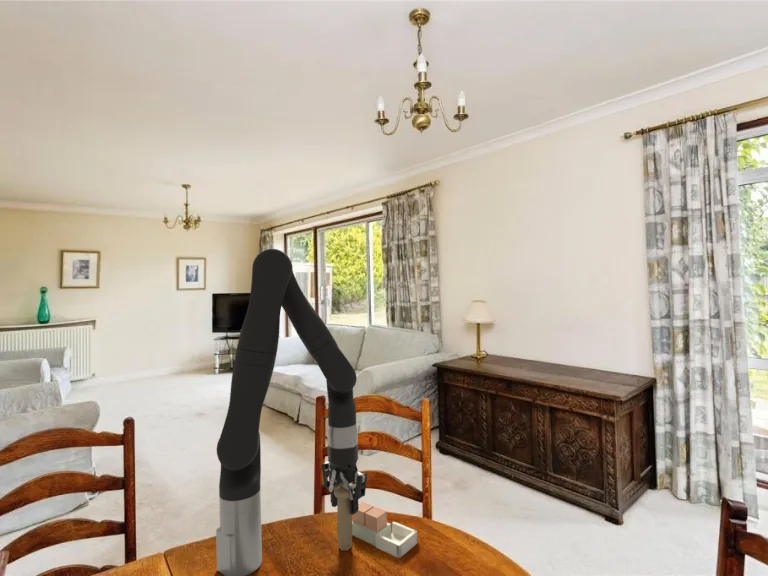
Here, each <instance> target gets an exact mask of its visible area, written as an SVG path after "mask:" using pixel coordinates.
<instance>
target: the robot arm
mask: <svg viewBox="0 0 768 576" xmlns="http://www.w3.org/2000/svg"><path fill="white" fill-rule="evenodd" d="M251 267H252V268H251V286H250V293H249V295H250V296H249V301H248V306H247V310H246V314H245V316H244V320H243V322H242V327H241V330H240V334H239V338H238V341H237V346H236V351H235V355H234V361H233V362H234V363H233V367H232V374H231V381H230V382H231V383H230V393H229V403H228V409H227V412H226V413H227V414H226V417H225V420H224V424H223V427H222V431H221V433H220V435H219V439H218V440H217V444H216V455H217V458H218V459H217V460H218V461H219V463H220V472H219V473H220V475H219V483H218V484H219V485H218V494H219V496H218V497H219V499H218V501H219V527H217V528H216V530H215V534H216V535H215V537H216V538H215V540H216V543H215V545H216V546H215V547H216V548H215V549H216V571H218V572H219V573H220V574H222V575H223V576H249V575H250V574H253V573H254V572H255V571H257V570H258V569H259V568H260V567H261V565H262V562H263V551H262V550H263V547H262V545H263V544H262V500H261V498H262V497H261V496H262V495H261V491H262V490H261V473H262V472H261V471H262V467H261V458H262V457H261V454H262V453H261V451H262V450H261V435H260V434H261V433H260V425H261V424H260V423H261V415H262V411H263V410H262V409H263V405H264V402H265V399H266V397H267V393H268V390H269V387H270V384H271V380H272V376H273V372H274V369H275V364H276V361H277V360H276V358H277V355H278V354H277V352H278V348H279V347H278V346H279V340H280V339H279V338H280V326H281V324H280V323H281V311H282V309H283V310H284V312H285V314H286V315H287V317H288V319H289V321H290V323H291V324H292V327H293V328H294V330H295V332H296V333H297V336H298V338H299V339H300V340H301V342H302V344H303V345H304V347H305V348H306V351H307V352H308V353H309V355H310V356H311V358H312V359H313V360H314V361H315V362H316V364H317V365H318V367H319V370H320V371H321V373H322V375H323V376H324V378H325V380H326V382H325V383H326V392H327V400H328V401H327V402H328V404H327V405H328V408H327V425H328V426H327V427H328V428H327V461H325V462H322V463H321V473H322V480H323V486H324V487H325V488H328V491H329V492H330V503H331V507H333V508H336V507H337V505H338V499H337V497H335V495H334V486H335V485H336V484H338V483H342V484H343V485H344V487H345V490H346V491H348V492H349V498H350V499H349V513H350V514H351V515H352V516H353V515H354V514H355V513H357V511H358V509H359V507H358V504H359V500H360V499H361V498H363V497H365V495H366V489H367V480H368V479H367V478H368V474H367V473H366V472H363V473H362V472H360V471H359V469H358V466H357V462H358V460H359V438H358V436H359V435H358V434H359V433H358V427H357V425H358V424H357V409H356V408H357V407H356V402H355V399H354V388H355V386H356V384H357V373H356V370H355V369H354V367H353V366H352V364H351V363H350V361H349V360H348V358H347V357H346V356H345V354H344V352H343V351H342V350H341V349H340V348H339V345H338V343H337V341H336V340H335V338H334V336H333V334H332V333H331V331H330V330H329V329H328V327H327V325H326V324H325V322H324V321H323V319H322V318H321V316H320V315H319V313H318V312H317V311H316V310H315V308H314V307H313V306H312V304H311V303H310V302H309V300H308V299H307V297H306V295H305V294H304V292H303V291H302V289H301V287H300V285H299V283H298V280H297V277H296V276H295V274H294V271H293V268H294V267H293V263H292V261H291V258H290V257H289V255H287V253H286V252H284V251H282V250H281V249H278V248H267V249H265V250H262V251H260V252H259V253H258V254H257V255H256V257H255V258H254V260H253V263H252V266H251ZM350 483H352V485H350V486H349V484H350ZM352 489H353V490H354V493H353V491H352Z"/></svg>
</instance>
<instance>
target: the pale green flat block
mask: <svg viewBox="0 0 768 576" xmlns="http://www.w3.org/2000/svg"><path fill="white" fill-rule="evenodd" d="M352 527H353V531H352V537H355V538H358V539H359V540H361V541H364V542H366V543H368V544H370V545H372V546H374V547H376V536H375V535H376V534H380V535H382V536H384V537H388V536H389V535H390V534H392V523H389V522H388V521H387V525H386V526H385V527H383V528H382V529H381V530H379V531H378V532H376V531H374V530H372V529H369V528H367V527H365V526H363V525H360V524H358V523H356V522H354V521H353V520H352Z"/></svg>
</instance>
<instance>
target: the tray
mask: <svg viewBox="0 0 768 576" xmlns="http://www.w3.org/2000/svg"><path fill="white" fill-rule="evenodd" d="M375 536H376V546H375V548H377V549H378V550H381V551H383V552H385V553H387V554H388V555H392V556H393V557H395V558H397V559H401V558H402V557H403V556H405V554H407V553H408V552H409V551H410V550H411V549H412V548H414V547H415V546H416V545H417V544H418V531H417V530H416V529H413V528H412V527H408V526H406V525H403V524H402V523H399V522H396V521H393V522H391V534H390V535H389V536H388V537H384V536H382V535H380V534H376V535H375Z"/></svg>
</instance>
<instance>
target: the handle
mask: <svg viewBox="0 0 768 576" xmlns="http://www.w3.org/2000/svg"><path fill="white" fill-rule="evenodd" d="M352 483H353V482H351V483H350V484H349V486H350V485H352ZM352 491H353V493H354V490H353V489H352ZM334 495H335V497H337V499H338V505H337V506H336V507H337V508H336V509H337V513H336V514H337V515H336V532H337V535H336V536H337V540H338V541H337V544H338V549H340V550H341V551H342V552H343V551H345V552H347V551H349V550H350V549H351V548H352V546H353V545H352V544H353V535H352V531H353V527H352V521H353V515H351V514H350V513H349V499H350V498H349V492H348V491H346V490H345V487H344V485H343V484H342V483H338V484H336V485H335V486H334Z"/></svg>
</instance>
